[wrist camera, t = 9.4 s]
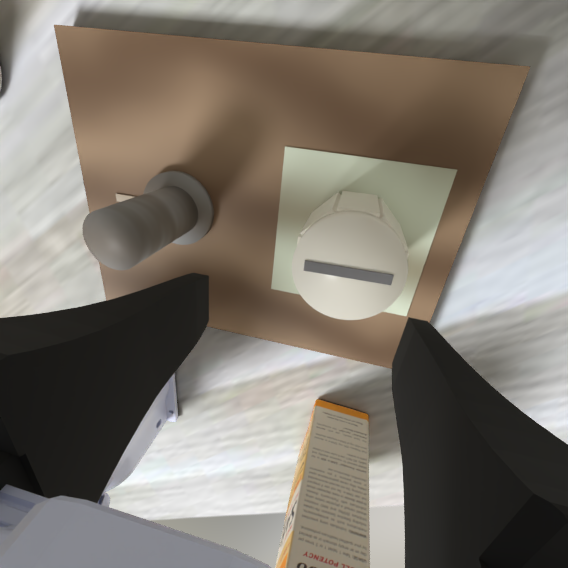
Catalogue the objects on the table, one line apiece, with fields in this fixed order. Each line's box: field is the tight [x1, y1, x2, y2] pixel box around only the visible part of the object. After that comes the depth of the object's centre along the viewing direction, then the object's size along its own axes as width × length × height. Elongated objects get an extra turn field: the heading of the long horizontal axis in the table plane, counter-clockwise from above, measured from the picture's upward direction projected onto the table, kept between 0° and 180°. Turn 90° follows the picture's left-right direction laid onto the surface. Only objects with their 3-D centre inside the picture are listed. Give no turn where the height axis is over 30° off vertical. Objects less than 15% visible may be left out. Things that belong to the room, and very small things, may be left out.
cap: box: [292, 191, 409, 320], centre depth 17 cm, size 5×5×5 cm
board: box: [54, 25, 530, 369], centre depth 18 cm, size 18×24×8 cm
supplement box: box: [275, 399, 370, 568], centre depth 23 cm, size 8×5×13 cm, turn 170°
